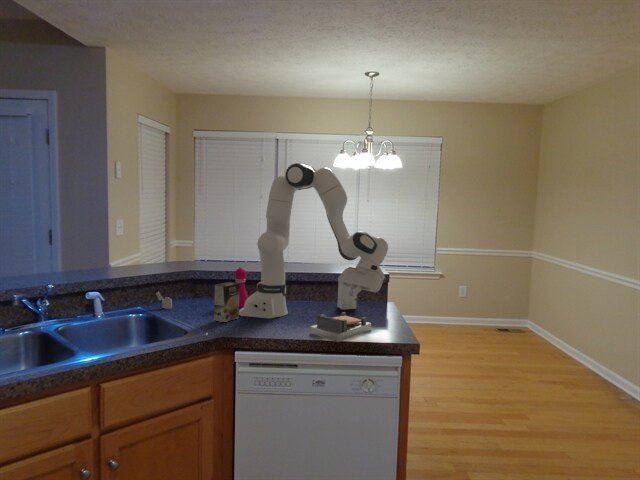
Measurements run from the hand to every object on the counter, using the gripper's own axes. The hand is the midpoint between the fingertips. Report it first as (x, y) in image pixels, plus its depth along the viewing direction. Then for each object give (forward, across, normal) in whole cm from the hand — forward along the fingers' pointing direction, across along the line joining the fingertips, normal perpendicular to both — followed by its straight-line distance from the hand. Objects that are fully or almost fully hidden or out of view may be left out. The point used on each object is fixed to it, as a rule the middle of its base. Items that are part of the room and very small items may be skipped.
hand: (351, 295), depth 182 cm
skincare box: (-9, -23, +29) cm, 38 cm away
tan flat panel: (+11, 0, +4) cm, 11 cm away
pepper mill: (+17, -61, +4) cm, 64 cm away
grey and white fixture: (+14, 0, +6) cm, 16 cm away
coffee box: (+32, -45, -10) cm, 56 cm away
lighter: (+39, -81, -17) cm, 91 cm away
